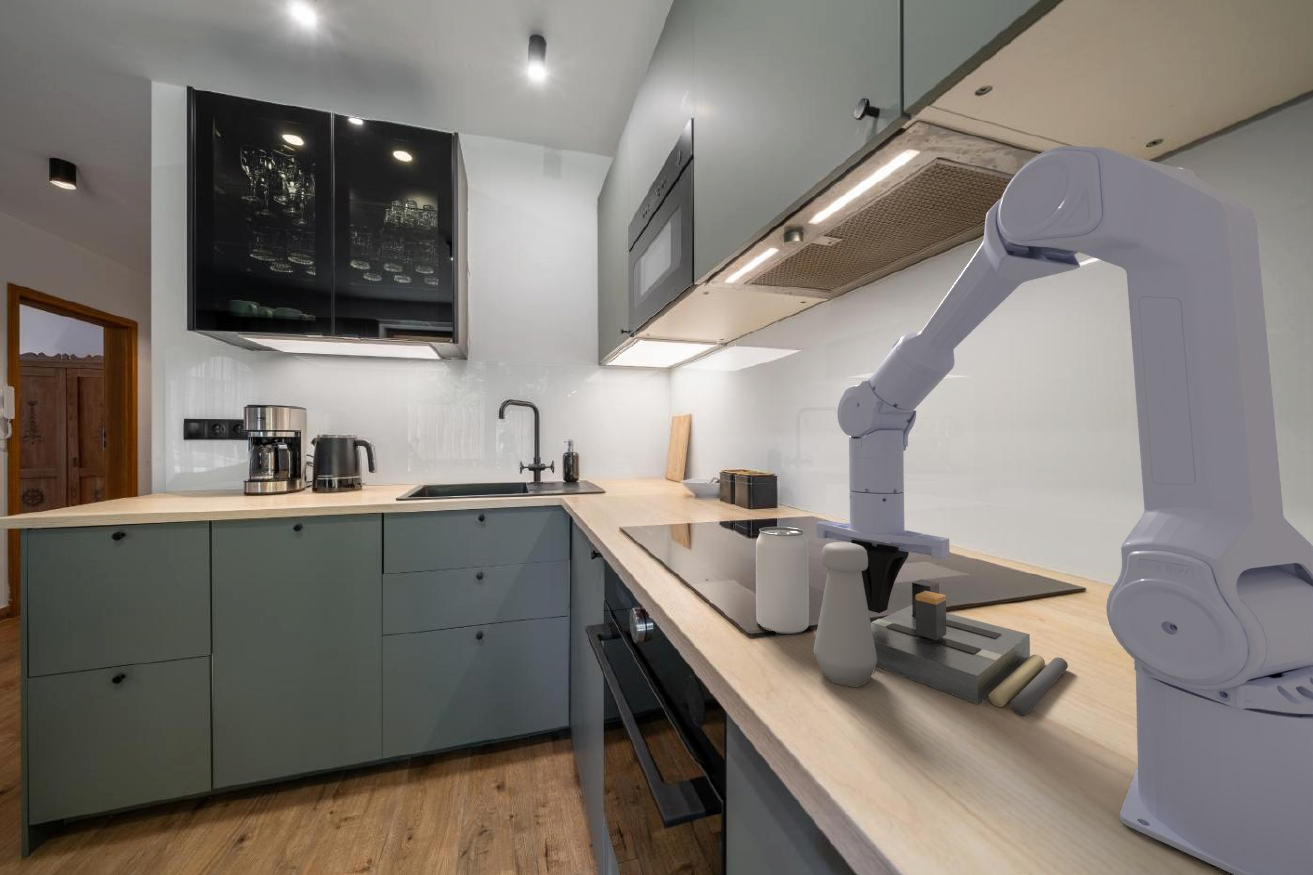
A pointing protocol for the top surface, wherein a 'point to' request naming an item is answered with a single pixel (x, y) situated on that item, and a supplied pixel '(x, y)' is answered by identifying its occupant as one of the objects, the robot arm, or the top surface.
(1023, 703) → the pair of rollers
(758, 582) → the can
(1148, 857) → the top surface
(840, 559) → the salt shaker
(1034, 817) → the top surface
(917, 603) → the toggle
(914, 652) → the dual slot slider
